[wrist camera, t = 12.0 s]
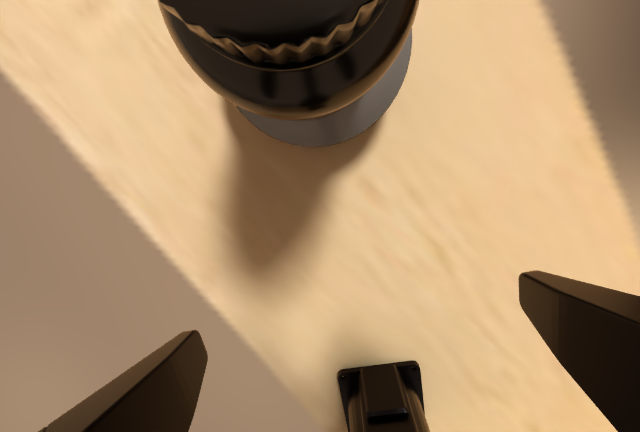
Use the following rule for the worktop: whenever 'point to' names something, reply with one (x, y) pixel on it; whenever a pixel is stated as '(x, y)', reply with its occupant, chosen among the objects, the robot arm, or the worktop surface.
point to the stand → (341, 112)
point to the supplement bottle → (290, 50)
